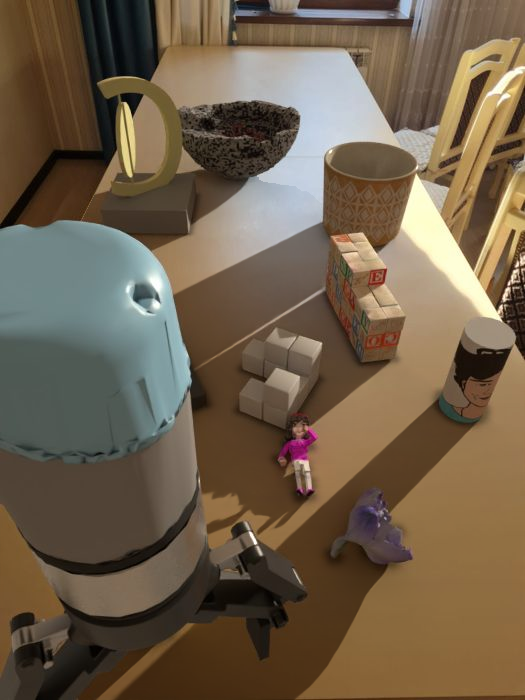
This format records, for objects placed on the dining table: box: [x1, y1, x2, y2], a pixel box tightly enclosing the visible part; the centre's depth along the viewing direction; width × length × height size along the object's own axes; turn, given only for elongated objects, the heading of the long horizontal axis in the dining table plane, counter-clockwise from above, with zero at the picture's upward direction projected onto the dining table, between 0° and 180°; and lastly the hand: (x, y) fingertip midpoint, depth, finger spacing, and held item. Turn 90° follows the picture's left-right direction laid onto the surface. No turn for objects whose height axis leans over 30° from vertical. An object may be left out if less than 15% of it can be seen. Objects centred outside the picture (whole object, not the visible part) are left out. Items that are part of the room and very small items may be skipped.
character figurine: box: [277, 412, 319, 498], centre depth 74 cm, size 6×5×12 cm
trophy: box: [96, 76, 197, 235], centre depth 117 cm, size 19×19×30 cm
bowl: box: [177, 99, 301, 180], centre depth 140 cm, size 31×31×15 cm
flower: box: [329, 486, 414, 565], centre depth 64 cm, size 9×9×10 cm
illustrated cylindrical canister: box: [438, 316, 517, 424], centre depth 79 cm, size 7×7×15 cm
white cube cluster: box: [238, 327, 323, 430], centre depth 83 cm, size 12×12×8 cm
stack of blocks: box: [325, 233, 407, 363], centre depth 94 cm, size 21×6×12 cm, turn 12°
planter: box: [322, 141, 419, 248], centre depth 117 cm, size 19×19×16 cm
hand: (174, 683), depth 40 cm, fingers open, 13 cm apart
